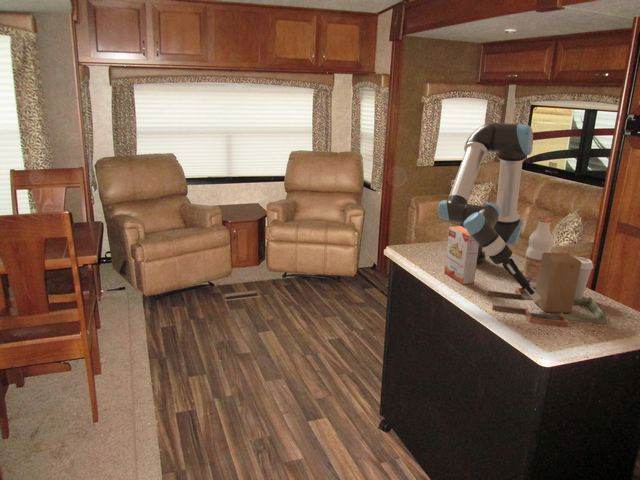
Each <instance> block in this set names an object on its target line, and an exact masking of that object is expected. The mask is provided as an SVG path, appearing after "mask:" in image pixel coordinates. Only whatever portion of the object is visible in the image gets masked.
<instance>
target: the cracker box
mask: <svg viewBox="0 0 640 480" xmlns="http://www.w3.org/2000/svg"><path fill="white" fill-rule="evenodd" d="M478 249H479V244H478V243H477V242H476V241H475V239H474V238H473V237H472V236H471V235H470V234H469V233H468V231H467V230H466V228H464V227H462V226H460V225H458V226H457V225H455V226H454V225H453V226H449V229H448V237H447V248H446V254H445V255H446V256H445V264H444V273H445V274H447V275H448V276H449V277H451V278H452V279H454V280H455V281H457V282H458V283H460V284H461V285H468V284H474V283H475V277H476V270H477V265H478V264H477V257H478Z"/></svg>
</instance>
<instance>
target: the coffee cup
mask: <svg viewBox="0 0 640 480" xmlns="http://www.w3.org/2000/svg"><path fill="white" fill-rule="evenodd" d="M574 257H575V258H576V259H578V260H580V261H581V268H580V273H579V278H578V282H577V287H576V292H575V297H574V299H576V300H583V298H584V293H585V291H586V287H587V284H588V281H589V279H590V278H589V277H590V276H591V272H592V269H594V264H593V261H592V260H591V259H589V258H586V257H582V256H581V257H580V256H574Z"/></svg>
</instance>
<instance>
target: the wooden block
mask: <svg viewBox="0 0 640 480" xmlns="http://www.w3.org/2000/svg"><path fill="white" fill-rule="evenodd" d="M575 257H576V256H573V255H571V254H569V252H552V253H543V254H542V259H541V264H540V270H539V275H538V281H537V286H536V288H535V289H536V292H537V293H538V294H539V295H540V296H541V299H539V300H537V301H536V302H534V303H535V304H536V305H537V306H538V307H540V309H541V310H542V311H544V313H556V314H557V313H558V314H559V313H560V314H561V313H566V314H570V313H571V312H572V310H573V306H574V304H573V302H574V297H575V292H576V287H577V282H578V278H579V273H580V268H581V261H580V260H578V259H576V258H575Z"/></svg>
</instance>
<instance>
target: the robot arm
mask: <svg viewBox="0 0 640 480" xmlns="http://www.w3.org/2000/svg"><path fill="white" fill-rule="evenodd" d="M533 145H534V132H533V128H532V127H531V126H530V125H528V124H521V123H504V122H503V123H502V122H488V123H485V124H483V125H481V126H479V127H478V128H476V130H473V132H472V133H471V134H470V135H469V137H468V138H467V140H466V142H465V144H464V147H463V150H464V155H463V156H462V157H463V158H462V160H461V162H460V165H459V168H458V171H457V172H456V176H455V179H454V182H453V185H452V186H451V190H450V193H449V196H448V198H447V200H444V199H443V200H441V201H440V202H439V204H438V208H437V216H438V218H439V219H440V220H443V221H447V222H456V223H459V226H462V227H464V228H466V230H467V231H468V233H469V234H470V235H471V236H472V237H473V238H474V239H475V241H476V242H477V243H478V244H479V249H478V257H477V264H476V265H481V264H484V263H486V259H487V256H489V259H490V260H491V261H492V262H493V264H494V265H501V264H502V268H503V269H504V270H505V271H507V273H508V274H509V275H510V276H511V277H513V279H514V280H515V281H516V282H517V283H518V284H519V286H520V288H521V289H522V290H523V289H524V290H525V291H526V292H527V293H528V294H529V296H530V297H531V298H532V299H533V300H532V301H533V302H534V303H535V302H536V301H537V300H539V299H541V296H540V295H539V294H538V293H537V292H536V290H535V289H536V288H534V287H532V285H531V284H530V283H529V282H531V281H530V280H528V281H527V279H526V278H525V277H524V275H523V272H522V271H521V270H520V269H519V267H518V265H517V264H516V263H515V261H514V260H513V258H512V255H513V250H512V249H511V248H510V247H509V245H510V246H512V245H516V244H517V242H518V240H519V237H520V235H521V231H522V228H523V224H524V220H522V219H520V215H521V214H519V213H518V203H519V194H520V188H521V187H520V186H521V179H522V170H523V169H522V168H523V162H524V161H526V159H527V158H528V156H530V155H531V154H532V151H533V148H534V147H533ZM489 152H492V153H494V152H495V153H496V158H497V159H498V160H500V161H499V162H500V163H499V174H498V175H499V176H498V184H497V195H496V196H497V197H496V203H494V202H491V201H490V202H485V203H484V204H482V205H478V204H472V203H471V204H470V203H469V199H470V197H471V194H472V190H473V189H474V188H473V187H474V185H475V183H476V181H477V177H478V174H479V171H480V168H481V165H482V162H483V159H484V158H485V157H486V156H488V153H489Z"/></svg>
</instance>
